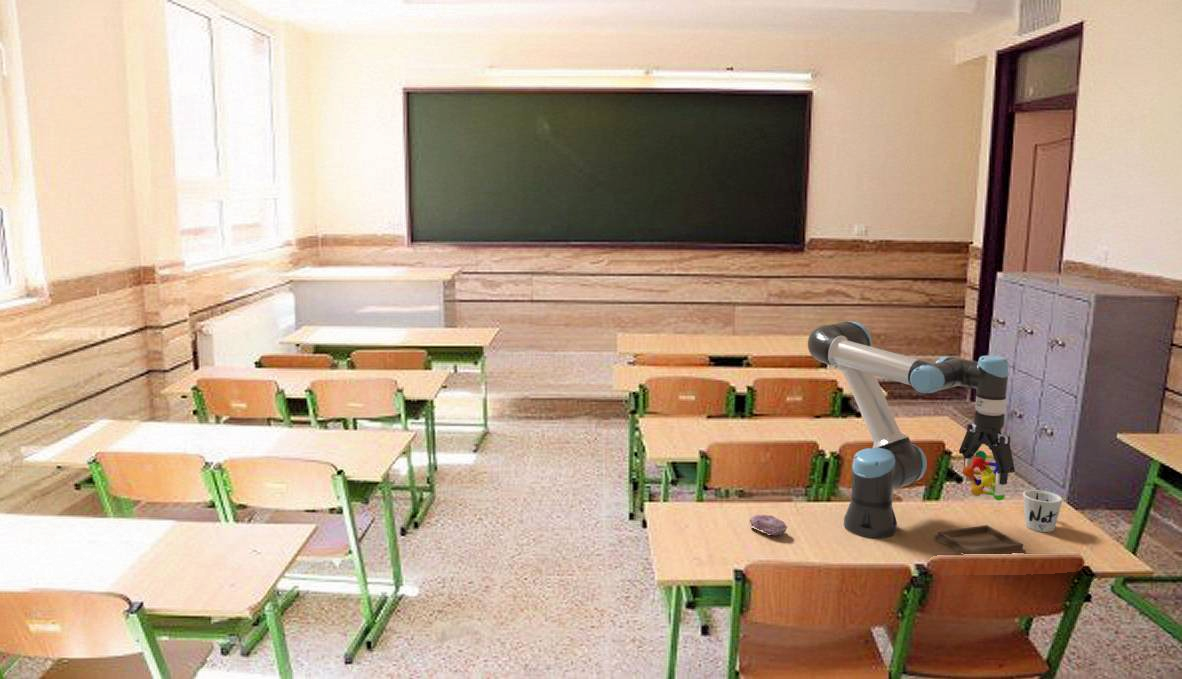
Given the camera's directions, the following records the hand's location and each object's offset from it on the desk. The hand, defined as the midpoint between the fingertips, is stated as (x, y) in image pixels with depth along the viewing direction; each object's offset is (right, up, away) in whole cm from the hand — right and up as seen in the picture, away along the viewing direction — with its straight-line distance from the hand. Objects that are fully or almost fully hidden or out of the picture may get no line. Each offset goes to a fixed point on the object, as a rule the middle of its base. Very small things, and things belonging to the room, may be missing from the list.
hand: (983, 487), depth 232 cm
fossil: (-58, -16, +14) cm, 62 cm away
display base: (0, -17, +3) cm, 18 cm away
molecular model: (0, -2, 0) cm, 2 cm away
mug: (+25, -15, +18) cm, 34 cm away
